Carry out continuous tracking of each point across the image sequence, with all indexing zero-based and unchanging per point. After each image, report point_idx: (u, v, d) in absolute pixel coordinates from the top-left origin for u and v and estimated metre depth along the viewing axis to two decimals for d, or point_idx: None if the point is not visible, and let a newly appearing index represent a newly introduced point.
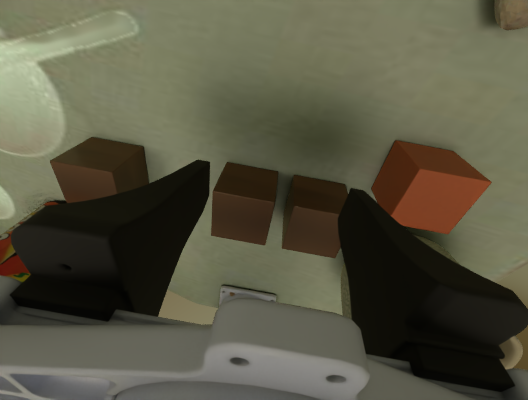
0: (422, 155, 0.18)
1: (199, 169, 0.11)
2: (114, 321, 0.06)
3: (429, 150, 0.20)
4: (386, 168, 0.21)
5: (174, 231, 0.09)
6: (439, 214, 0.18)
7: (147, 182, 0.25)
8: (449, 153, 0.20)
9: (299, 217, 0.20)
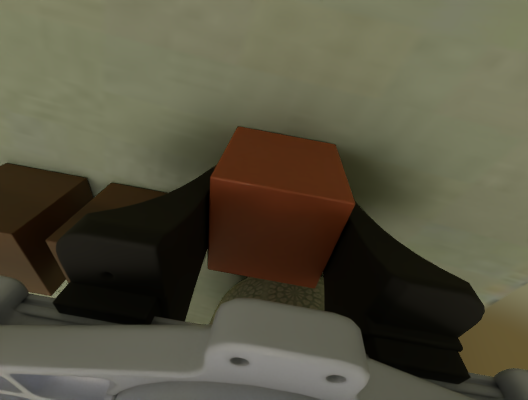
0: (256, 151, 0.10)
1: None
2: (114, 321, 0.06)
3: (284, 142, 0.11)
4: None
5: (201, 236, 0.09)
6: (285, 259, 0.10)
7: None
8: (323, 147, 0.12)
9: None
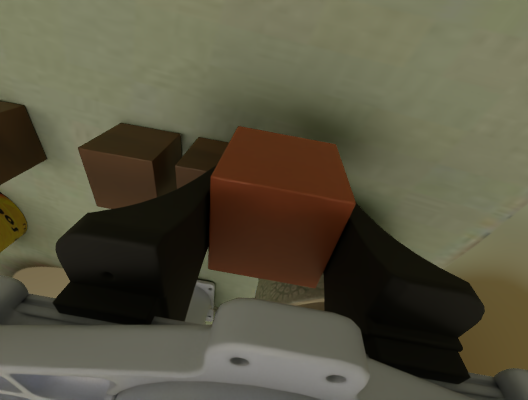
0: (256, 151, 0.10)
1: None
2: (114, 321, 0.06)
3: (284, 142, 0.11)
4: None
5: (201, 236, 0.09)
6: (286, 258, 0.10)
7: (41, 150, 0.22)
8: (323, 147, 0.12)
9: (185, 180, 0.17)
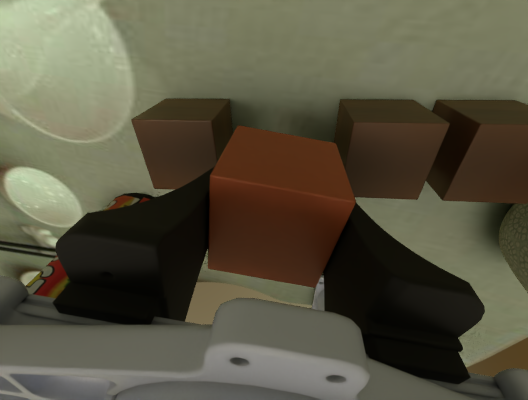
0: (256, 150, 0.10)
1: None
2: (114, 321, 0.06)
3: (284, 141, 0.11)
4: None
5: (201, 236, 0.09)
6: (286, 258, 0.10)
7: None
8: (323, 146, 0.12)
9: (485, 142, 0.13)
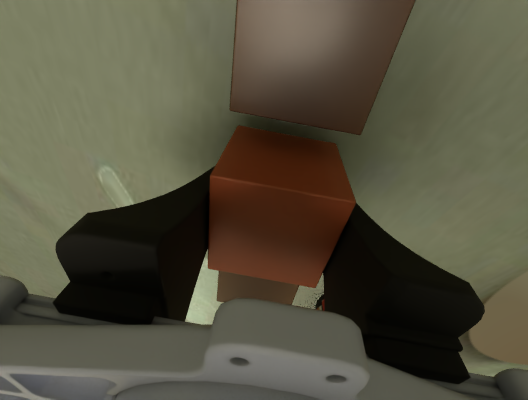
0: (256, 150, 0.10)
1: None
2: (114, 321, 0.06)
3: (284, 141, 0.11)
4: None
5: (201, 236, 0.09)
6: (286, 258, 0.10)
7: None
8: (323, 146, 0.12)
9: None
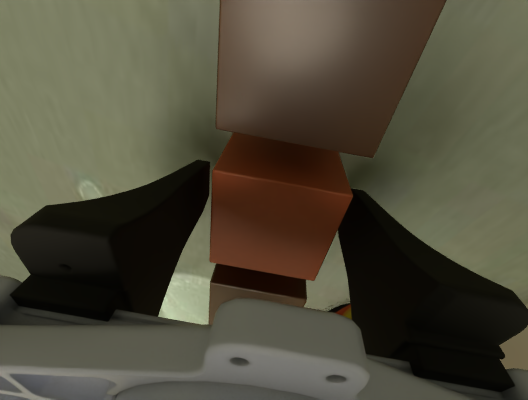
0: (256, 146, 0.10)
1: (199, 170, 0.11)
2: (114, 321, 0.06)
3: None
4: None
5: (174, 231, 0.09)
6: (285, 251, 0.10)
7: None
8: None
9: None
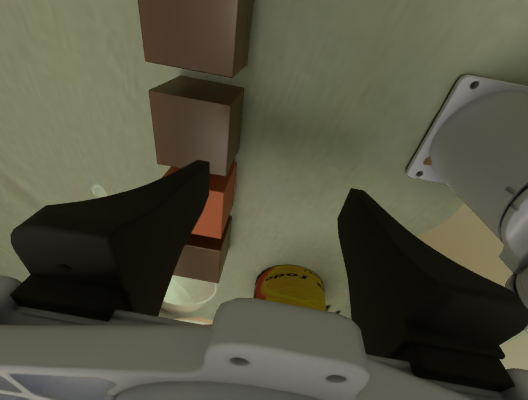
0: None
1: (199, 169, 0.11)
2: (114, 321, 0.06)
3: None
4: None
5: (174, 231, 0.09)
6: (201, 221, 0.20)
7: None
8: None
9: (161, 50, 0.13)
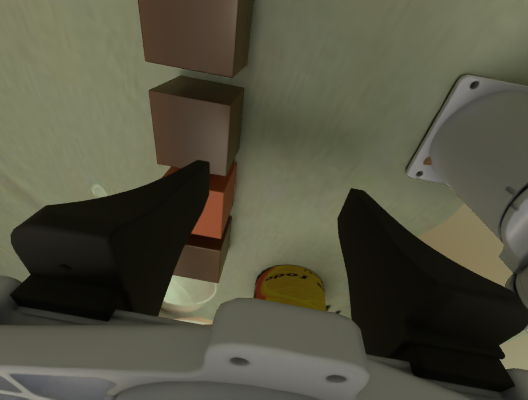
0: None
1: (199, 169, 0.11)
2: (114, 321, 0.06)
3: None
4: None
5: (174, 231, 0.09)
6: (201, 221, 0.20)
7: None
8: None
9: (161, 50, 0.13)
